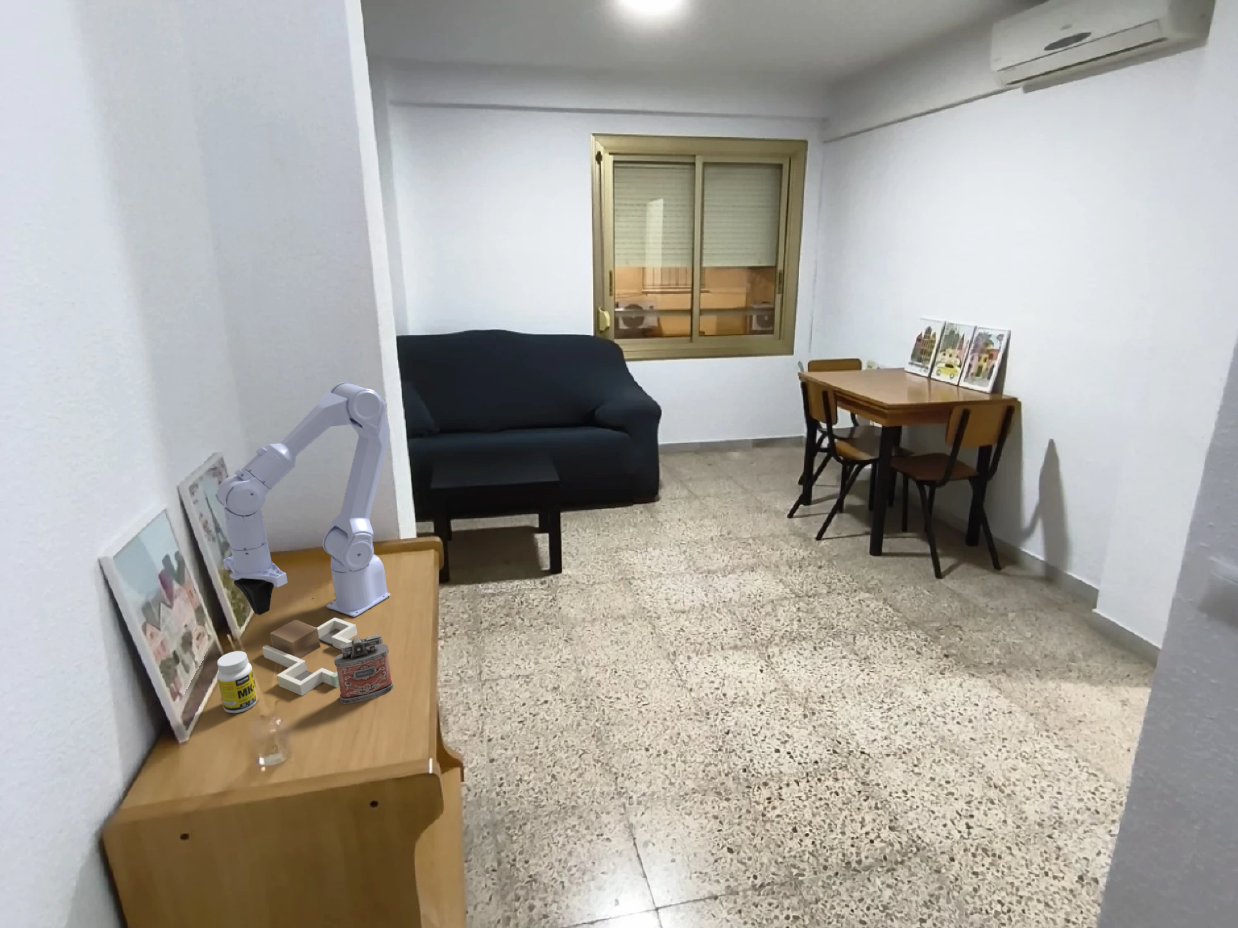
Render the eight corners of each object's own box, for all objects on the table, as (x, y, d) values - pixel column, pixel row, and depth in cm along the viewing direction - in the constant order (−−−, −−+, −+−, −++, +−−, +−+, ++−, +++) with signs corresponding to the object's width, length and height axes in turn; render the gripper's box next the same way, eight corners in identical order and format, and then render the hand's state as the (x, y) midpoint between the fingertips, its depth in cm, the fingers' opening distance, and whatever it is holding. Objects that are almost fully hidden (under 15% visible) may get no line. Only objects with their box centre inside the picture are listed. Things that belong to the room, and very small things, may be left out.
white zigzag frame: (324, 622, 127) (322, 613, 127) (394, 647, 119) (392, 637, 119) (242, 669, 113) (240, 659, 113) (315, 701, 105) (313, 691, 105)
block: (298, 638, 123) (295, 619, 121) (320, 647, 120) (317, 628, 118) (273, 652, 118) (270, 632, 117) (295, 662, 116) (292, 642, 114)
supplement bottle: (243, 715, 102) (233, 669, 100) (217, 711, 103) (206, 665, 101) (265, 695, 107) (256, 651, 104) (239, 692, 108) (229, 647, 105)
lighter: (341, 706, 104) (332, 652, 101) (339, 694, 107) (330, 640, 104) (394, 691, 108) (388, 638, 105) (391, 679, 111) (384, 627, 108)
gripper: (201, 543, 116) (215, 612, 121) (255, 561, 110) (268, 633, 114) (239, 529, 122) (252, 594, 126) (292, 545, 116) (304, 613, 120)
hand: (262, 611), depth 121 cm, fingers closed
